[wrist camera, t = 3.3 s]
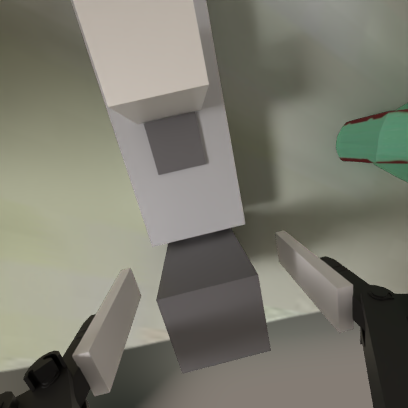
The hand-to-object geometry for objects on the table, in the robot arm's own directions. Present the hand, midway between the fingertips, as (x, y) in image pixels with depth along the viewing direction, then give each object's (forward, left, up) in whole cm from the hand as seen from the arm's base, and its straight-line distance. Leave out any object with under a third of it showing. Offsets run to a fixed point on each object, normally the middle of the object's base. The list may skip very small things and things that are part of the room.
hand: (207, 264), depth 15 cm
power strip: (0, +18, -3) cm, 18 cm away
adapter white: (0, +13, +1) cm, 13 cm away
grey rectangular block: (0, +2, -3) cm, 4 cm away
